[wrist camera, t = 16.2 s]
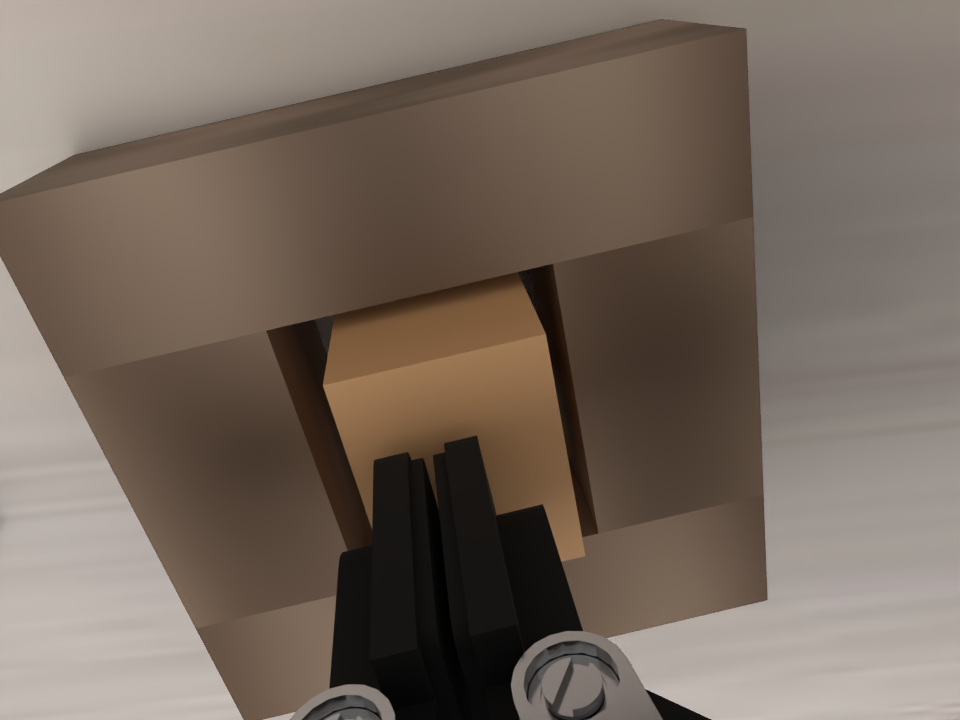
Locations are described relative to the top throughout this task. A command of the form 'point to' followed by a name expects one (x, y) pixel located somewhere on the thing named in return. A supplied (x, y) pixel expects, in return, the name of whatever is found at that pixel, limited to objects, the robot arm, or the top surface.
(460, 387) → the plug
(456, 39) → the top surface
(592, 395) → the port block
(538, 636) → the robot arm
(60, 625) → the top surface
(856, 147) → the top surface
